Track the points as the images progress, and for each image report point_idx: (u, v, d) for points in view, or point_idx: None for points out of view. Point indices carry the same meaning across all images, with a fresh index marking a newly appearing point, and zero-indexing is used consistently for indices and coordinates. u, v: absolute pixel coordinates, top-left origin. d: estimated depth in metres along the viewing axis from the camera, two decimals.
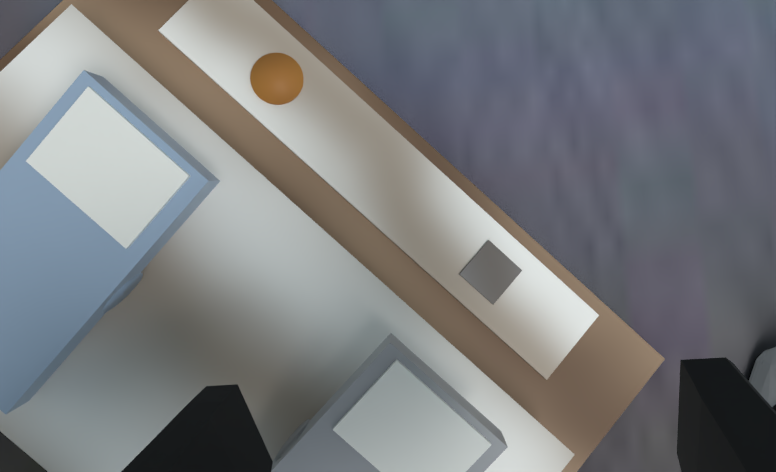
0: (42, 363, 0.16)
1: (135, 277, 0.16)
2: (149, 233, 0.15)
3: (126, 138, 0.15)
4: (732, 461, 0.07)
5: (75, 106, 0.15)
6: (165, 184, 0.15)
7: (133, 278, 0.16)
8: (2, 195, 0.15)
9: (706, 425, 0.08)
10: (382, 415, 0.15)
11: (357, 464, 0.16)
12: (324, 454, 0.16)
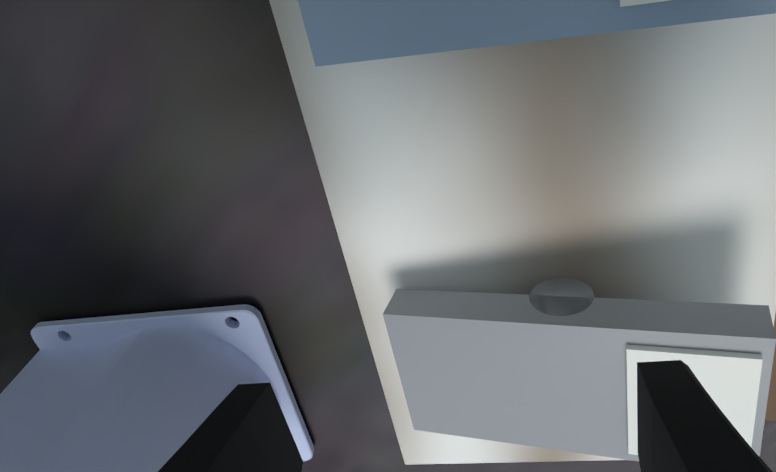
0: (395, 48, 0.11)
1: None
2: (667, 10, 0.09)
3: None
4: (677, 462, 0.07)
5: None
6: None
7: None
8: None
9: (657, 426, 0.08)
10: None
11: (611, 381, 0.13)
12: (592, 352, 0.13)
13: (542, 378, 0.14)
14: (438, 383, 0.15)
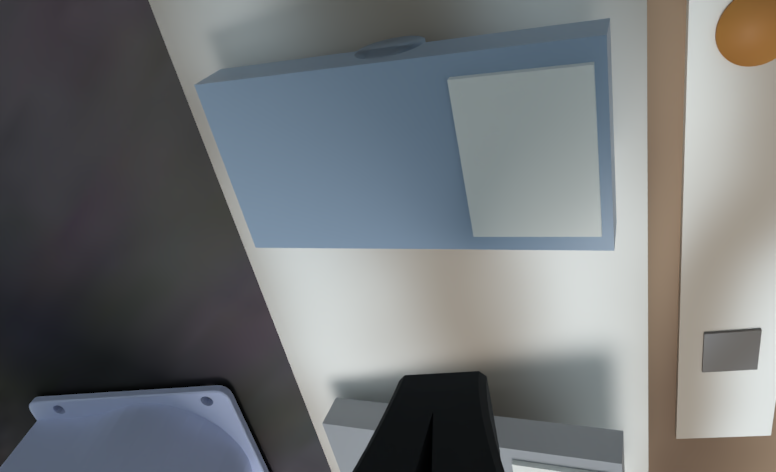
0: (315, 241, 0.14)
1: None
2: (507, 240, 0.12)
3: (574, 146, 0.11)
4: None
5: (557, 75, 0.10)
6: (569, 222, 0.11)
7: None
8: (391, 85, 0.11)
9: None
10: None
11: None
12: None
13: None
14: None
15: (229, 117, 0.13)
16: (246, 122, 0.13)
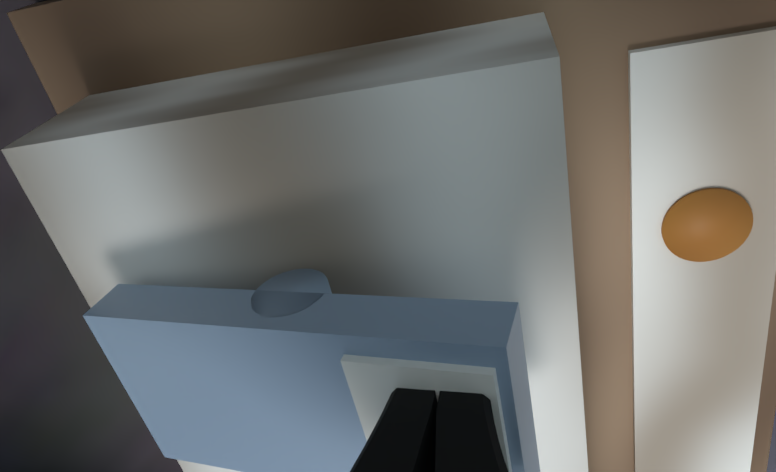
0: (224, 462, 0.13)
1: None
2: None
3: None
4: None
5: (454, 378, 0.09)
6: None
7: None
8: (284, 351, 0.10)
9: None
10: None
11: None
12: None
13: None
14: None
15: (122, 348, 0.12)
16: (140, 355, 0.12)
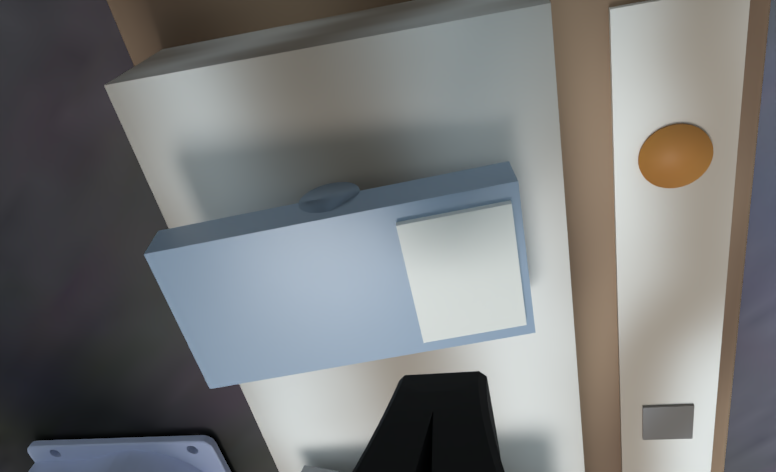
0: (272, 372, 0.15)
1: None
2: (451, 340, 0.14)
3: (500, 261, 0.13)
4: None
5: (485, 213, 0.13)
6: (501, 319, 0.14)
7: None
8: (344, 233, 0.13)
9: None
10: None
11: None
12: None
13: None
14: None
15: (182, 278, 0.13)
16: (201, 279, 0.13)
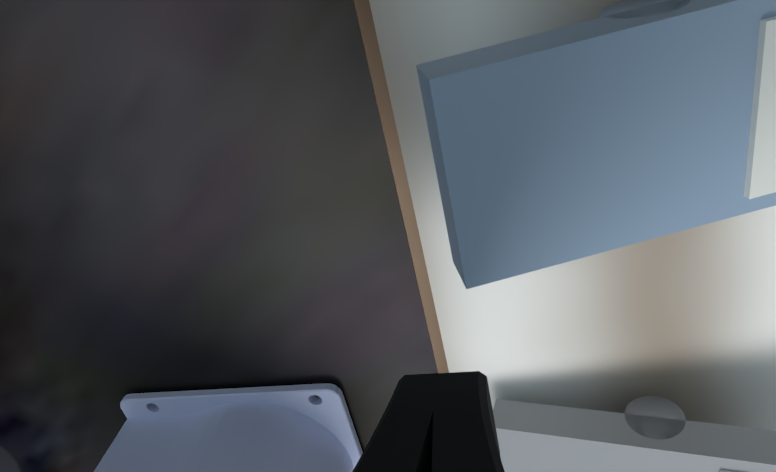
0: (550, 258, 0.11)
1: None
2: None
3: None
4: None
5: None
6: None
7: None
8: (694, 39, 0.10)
9: None
10: None
11: None
12: None
13: None
14: None
15: (472, 117, 0.10)
16: (496, 118, 0.10)
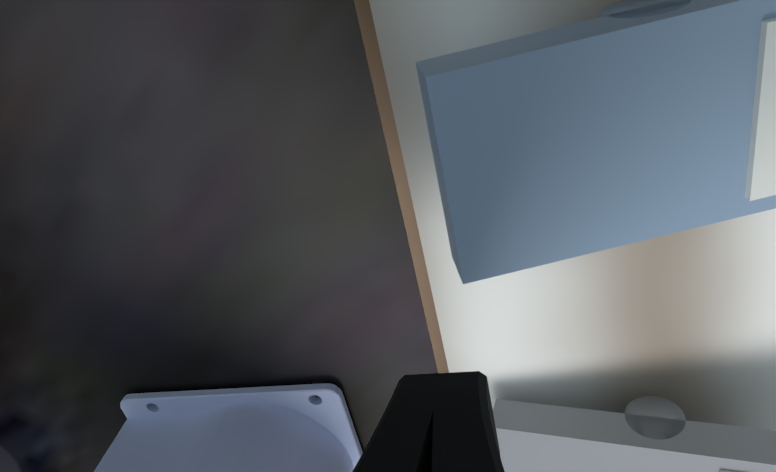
0: (547, 256, 0.11)
1: None
2: None
3: None
4: None
5: None
6: None
7: None
8: (694, 39, 0.10)
9: None
10: None
11: None
12: None
13: None
14: None
15: (468, 114, 0.10)
16: (492, 116, 0.10)
